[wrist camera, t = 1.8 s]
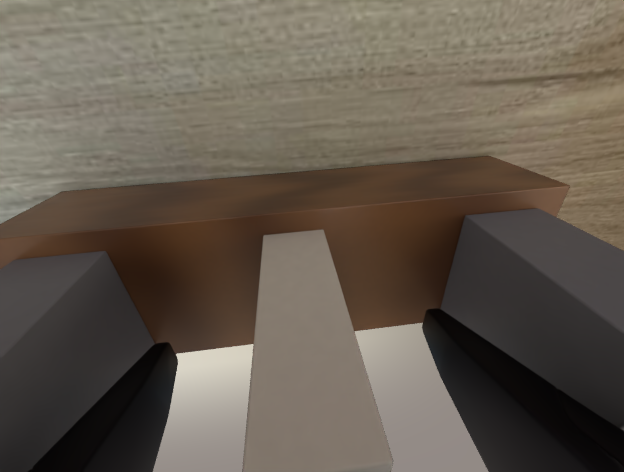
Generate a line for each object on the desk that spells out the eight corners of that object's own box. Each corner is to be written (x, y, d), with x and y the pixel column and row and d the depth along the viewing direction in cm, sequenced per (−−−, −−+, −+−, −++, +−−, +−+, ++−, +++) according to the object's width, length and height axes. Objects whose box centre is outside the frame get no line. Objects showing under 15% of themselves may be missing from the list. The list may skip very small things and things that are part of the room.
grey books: (538, 207, 10) (826, 351, 5) (499, 302, 13) (661, 466, 8) (13, 259, 9) (-382, 531, 4) (84, 352, 12) (-86, 596, 6)
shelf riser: (490, 155, 14) (571, 185, 10) (460, 259, 17) (513, 311, 13) (61, 191, 13) (-36, 242, 9) (120, 296, 16) (69, 367, 12)
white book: (323, 228, 10) (395, 463, 4) (326, 323, 12) (372, 553, 6) (262, 234, 10) (240, 488, 4) (278, 329, 12) (280, 570, 6)
